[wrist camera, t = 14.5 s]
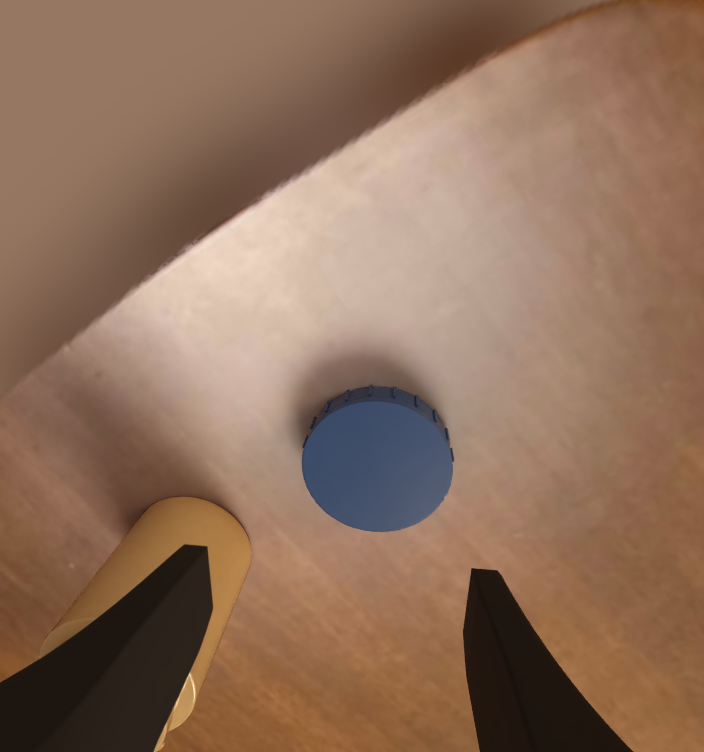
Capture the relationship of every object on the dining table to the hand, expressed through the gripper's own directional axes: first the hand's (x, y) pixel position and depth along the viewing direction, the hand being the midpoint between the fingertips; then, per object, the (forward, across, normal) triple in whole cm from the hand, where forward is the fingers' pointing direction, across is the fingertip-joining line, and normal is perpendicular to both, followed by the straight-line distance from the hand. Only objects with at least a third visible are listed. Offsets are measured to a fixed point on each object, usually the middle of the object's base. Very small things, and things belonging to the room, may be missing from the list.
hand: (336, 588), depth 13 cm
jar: (+9, +8, +7) cm, 14 cm away
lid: (+8, -1, +1) cm, 8 cm away
